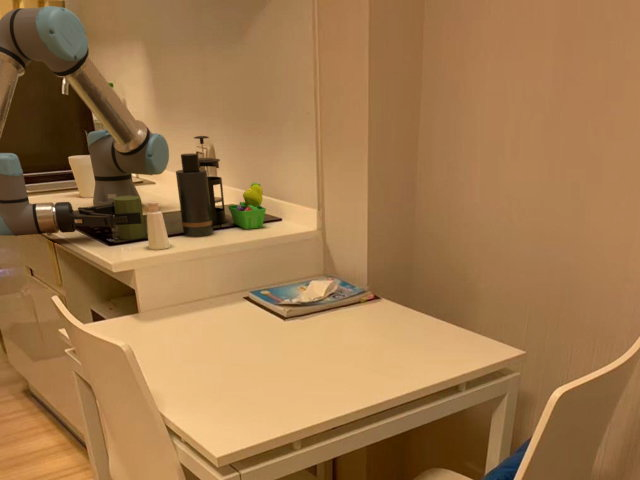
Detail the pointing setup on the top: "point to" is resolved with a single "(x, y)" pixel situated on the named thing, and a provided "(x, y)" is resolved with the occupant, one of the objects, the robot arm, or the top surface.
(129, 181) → the robot arm
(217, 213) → the french press
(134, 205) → the olive tea canister
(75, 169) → the foam cup
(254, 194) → the fruit basket
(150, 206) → the salt shaker
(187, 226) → the flask
